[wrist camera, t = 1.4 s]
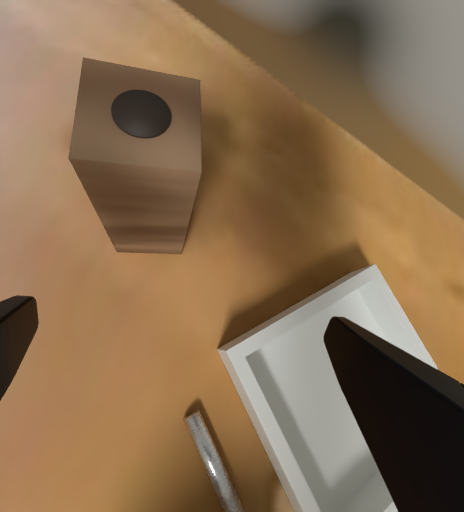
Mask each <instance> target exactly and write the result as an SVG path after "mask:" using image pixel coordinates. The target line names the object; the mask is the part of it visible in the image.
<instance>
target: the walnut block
mask: <svg viewBox="0 0 464 512" xmlns="http://www.w3.org/2000/svg"><path fill="white" fill-rule="evenodd" d="M69 160H70V162H71V164H72V166H73V167H74V169H75V171H76V173H77V175H78V177H79V179H80V181H81V183H82V185H83V187H84V189H85V191H86V193H87V195H88V197H89V199H90V201H91V202H92V204H93V206H94V208H95V210H96V212H97V214H98V216H99V218H100V220H101V222H102V224H103V226H104V228H105V230H106V232H107V234H108V236H109V237H110V239H111V241H112V243H113V245H114V247H115V249H116V251H117V252H129V253H165V254H181V253H182V249H183V245H184V241H185V237H186V233H187V229H188V225H189V221H190V217H191V213H192V209H193V205H194V201H195V197H196V193H197V189H198V185H199V181H200V177H201V173H202V158H201V99H200V80H197V79H192V78H187V77H182V76H177V75H172V74H166V73H161V72H156V71H151V70H146V69H140V68H135V67H130V66H125V65H120V64H114V63H109V62H104V61H99V60H94V59H89V58H83V62H82V69H81V76H80V83H79V90H78V97H77V104H76V111H75V118H74V125H73V131H72V138H71V145H70V152H69Z"/></svg>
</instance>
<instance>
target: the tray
mask: <svg viewBox="0 0 464 512" xmlns="http://www.w3.org/2000/svg"><path fill="white" fill-rule="evenodd" d="M334 316H337V317H345V318H347V319H349V320H351V321H352V322H354V323H356V324H358V325H359V326H361V327H363V328H365V329H366V330H368V331H370V332H372V333H374V334H375V335H377V336H379V337H381V338H382V339H384V340H386V341H388V342H389V343H391V344H393V345H395V346H397V347H398V348H400V349H402V350H404V351H405V352H407V353H409V354H411V355H413V356H414V357H416V358H418V359H420V360H421V361H423V362H425V363H427V364H428V365H430V366H432V367H434V368H436V369H437V370H438V368H437V366H436V365H435V363H434V361H433V360H432V358H431V356H430V355H429V353H428V351H427V350H426V348H425V346H424V345H423V343H422V341H421V340H420V338H419V336H418V335H417V333H416V331H415V330H414V328H413V326H412V325H411V323H410V321H409V320H408V318H407V316H406V315H405V313H404V311H403V310H402V308H401V306H400V305H399V303H398V301H397V300H396V298H395V296H394V295H393V293H392V291H391V290H390V288H389V286H388V285H387V283H386V281H385V280H384V278H383V276H382V274H381V273H380V271H379V269H378V268H377V266H376V264H373V265H371V266H368V267H365V268H362V269H359V270H356V271H353V272H351V273H349V274H347V275H345V276H344V277H342V278H340V279H338V280H337V281H335V282H333V283H331V284H330V285H328V286H326V287H324V288H323V289H321V290H319V291H317V292H316V293H314V294H312V295H310V296H309V297H307V298H305V299H303V300H302V301H300V302H298V303H296V304H295V305H293V306H291V307H289V308H288V309H286V310H284V311H283V312H281V313H279V314H277V315H276V316H274V317H272V318H270V319H269V320H267V321H265V322H263V323H262V324H260V325H258V326H256V327H255V328H253V329H251V330H249V331H248V332H246V333H244V334H242V335H241V336H239V337H237V338H235V339H234V340H232V341H230V342H228V343H227V344H225V345H223V346H221V347H220V348H218V349H217V350H218V352H219V354H220V356H221V358H222V360H223V363H224V365H225V367H226V369H227V371H228V373H229V375H230V377H231V379H232V381H233V384H234V386H235V388H236V390H237V392H238V394H239V396H240V398H241V400H242V403H243V405H244V407H245V409H246V411H247V413H248V415H249V417H250V419H251V421H252V424H253V426H254V428H255V430H256V432H257V434H258V436H259V438H260V440H261V442H262V445H263V447H264V449H265V451H266V453H267V455H268V457H269V459H270V461H271V464H272V466H273V468H274V470H275V472H276V474H277V476H278V478H279V480H280V482H281V485H282V487H283V489H284V491H285V493H286V495H287V497H288V499H289V501H290V503H291V506H292V508H293V510H294V512H398V510H397V508H396V506H395V504H394V502H393V499H392V497H391V495H390V493H389V491H388V489H387V487H386V484H385V482H384V480H383V478H382V476H381V474H380V471H379V469H378V467H377V465H376V463H375V461H374V459H373V456H372V454H371V452H370V450H369V448H368V446H367V444H366V441H365V439H364V437H363V435H362V433H361V431H360V429H359V426H358V424H357V422H356V420H355V418H354V416H353V414H352V411H351V409H350V407H349V405H348V403H347V401H346V398H345V396H344V394H343V392H342V390H341V388H340V385H339V383H338V380H337V378H336V375H335V372H334V369H333V367H332V364H331V361H330V358H329V355H328V353H327V350H326V347H325V344H324V340H323V337H324V333H325V331H326V328H327V326H328V323H329V321H330V319H331V318H332V317H334Z"/></svg>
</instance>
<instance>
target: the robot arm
mask: <svg viewBox="0 0 464 512" xmlns="http://www.w3.org/2000/svg"><path fill="white" fill-rule="evenodd" d="M37 328H38V313H37V303H36V299H35V298H34V297H32V296H13V297H11V298H8V299H6V300H3V301H1V302H0V400H1V399H2V397H3V396H4V394H5V392H6V391H7V389H8V387H9V386H10V384H11V382H12V380H13V378H14V376H15V374H16V372H17V370H18V368H19V366H20V364H21V362H22V360H23V358H24V356H25V354H26V352H27V349H28V347H29V345H30V343H31V341H32V339H33V337H34V335H35V333H36V331H37ZM323 340H324V344H325V347H326V350H327V353H328V355H329V358H330V361H331V364H332V367H333V369H334V372H335V375H336V378H337V380H338V383H339V385H340V388H341V390H342V392H343V394H344V396H345V398H346V401H347V403H348V405H349V407H350V409H351V411H352V414H353V416H354V418H355V420H356V422H357V424H358V426H359V429H360V431H361V433H362V435H363V437H364V439H365V441H366V444H367V446H368V448H369V450H370V452H371V454H372V456H373V459H374V461H375V463H376V465H377V467H378V469H379V471H380V474H381V476H382V478H383V480H384V482H385V484H386V487H387V489H388V491H389V493H390V495H391V497H392V499H393V502H394V504H395V506H396V508H397V510H398V512H464V384H462V383H459V382H458V381H457V380H455V379H453V378H451V377H450V376H448V375H446V374H444V373H443V372H441V371H439V370H437V369H436V368H434V367H432V366H430V365H428V364H427V363H425V362H423V361H421V360H420V359H418V358H416V357H414V356H413V355H411V354H409V353H407V352H405V351H404V350H402V349H400V348H398V347H397V346H395V345H393V344H391V343H389V342H388V341H386V340H384V339H382V338H381V337H379V336H377V335H375V334H374V333H372V332H370V331H368V330H366V329H365V328H363V327H361V326H359V325H358V324H356V323H354V322H352V321H351V320H349V319H347V318H345V317H337V316H334V317H332V318H331V319H330V321H329V323H328V326H327V328H326V331H325V333H324V337H323Z"/></svg>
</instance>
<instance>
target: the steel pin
mask: <svg viewBox="0 0 464 512" xmlns="http://www.w3.org/2000/svg"><path fill="white" fill-rule="evenodd" d="M184 421H185V424H186V426H187V428H188V431H189V433H190V435H191V437H192V440H193V442H194V444H195V447H196V449H197V451H198V453H199V456H200V458H201V460H202V463H203V465H204V467H205V469H206V472H207V474H208V476H209V479H210V481H211V483H212V485H213V488H214V490H215V492H216V494H217V497H218V499H219V501H220V504H221V506H222V508H223V510H224V512H244V509H243V506H242V504H241V502H240V500H239V497H238V495H237V493H236V491H235V489H234V486H233V484H232V482H231V480H230V477H229V475H228V473H227V471H226V468H225V466H224V464H223V462H222V460H221V457H220V455H219V453H218V451H217V448H216V446H215V444H214V442H213V440H212V437H211V435H210V433H209V431H208V428H207V426H206V424H205V422H204V419H203V417H202V415H201V413H200V411H199V409H197V410H195V411H193V412H192V413H190V414H189V415H187V416H186V417H184Z"/></svg>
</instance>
